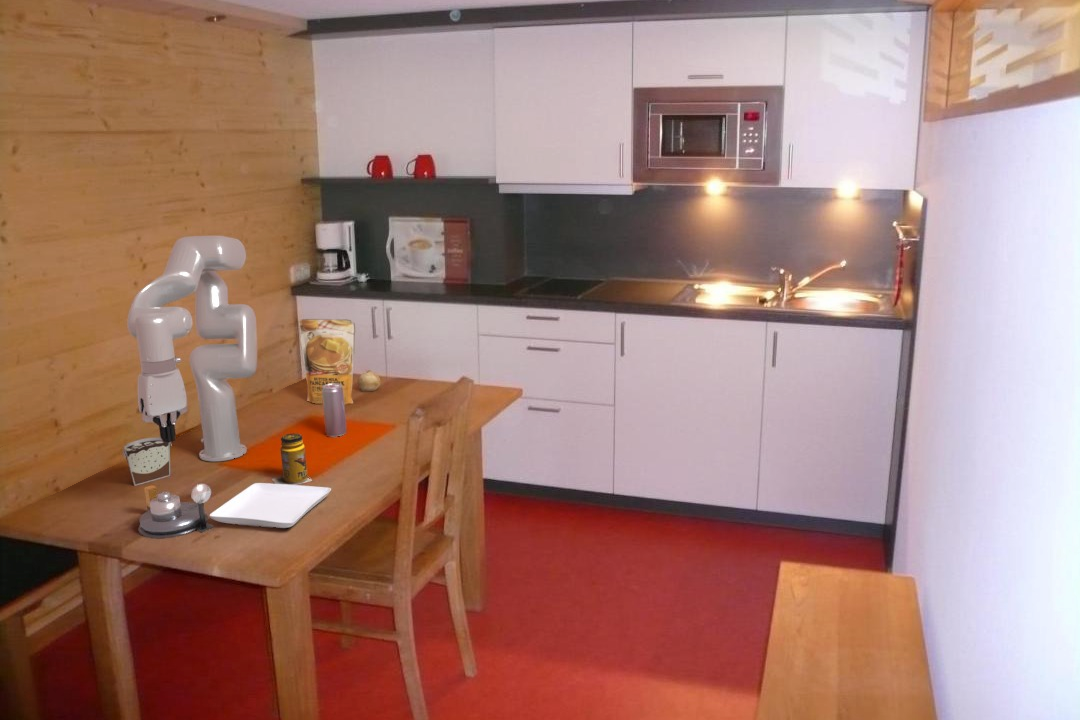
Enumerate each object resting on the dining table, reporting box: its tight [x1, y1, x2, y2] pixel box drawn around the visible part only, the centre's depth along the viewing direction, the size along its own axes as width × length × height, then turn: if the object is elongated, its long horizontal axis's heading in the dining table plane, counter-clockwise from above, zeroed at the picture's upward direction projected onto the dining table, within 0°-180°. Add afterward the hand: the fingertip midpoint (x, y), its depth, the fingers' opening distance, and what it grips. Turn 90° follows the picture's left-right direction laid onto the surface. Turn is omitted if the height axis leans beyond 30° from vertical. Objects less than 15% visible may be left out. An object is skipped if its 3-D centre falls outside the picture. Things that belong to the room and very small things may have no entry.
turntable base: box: [138, 512, 209, 539], centre depth 211 cm, size 15×15×1 cm
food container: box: [122, 436, 173, 487], centre depth 240 cm, size 12×6×10 cm, turn 134°
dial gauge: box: [190, 483, 214, 533], centre depth 207 cm, size 3×4×11 cm
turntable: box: [139, 484, 206, 535], centre depth 212 cm, size 18×14×6 cm
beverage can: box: [322, 383, 347, 438], centre depth 270 cm, size 6×6×15 cm
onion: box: [356, 369, 381, 393], centre depth 317 cm, size 8×8×7 cm
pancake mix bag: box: [297, 318, 356, 406], centre depth 301 cm, size 7×19×28 cm, turn 77°
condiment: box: [271, 432, 313, 485], centre depth 235 cm, size 7×8×12 cm
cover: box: [150, 490, 182, 522], centre depth 209 cm, size 6×6×6 cm
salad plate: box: [208, 482, 332, 529], centre depth 216 cm, size 21×21×3 cm
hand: (168, 440), depth 218 cm, fingers closed
